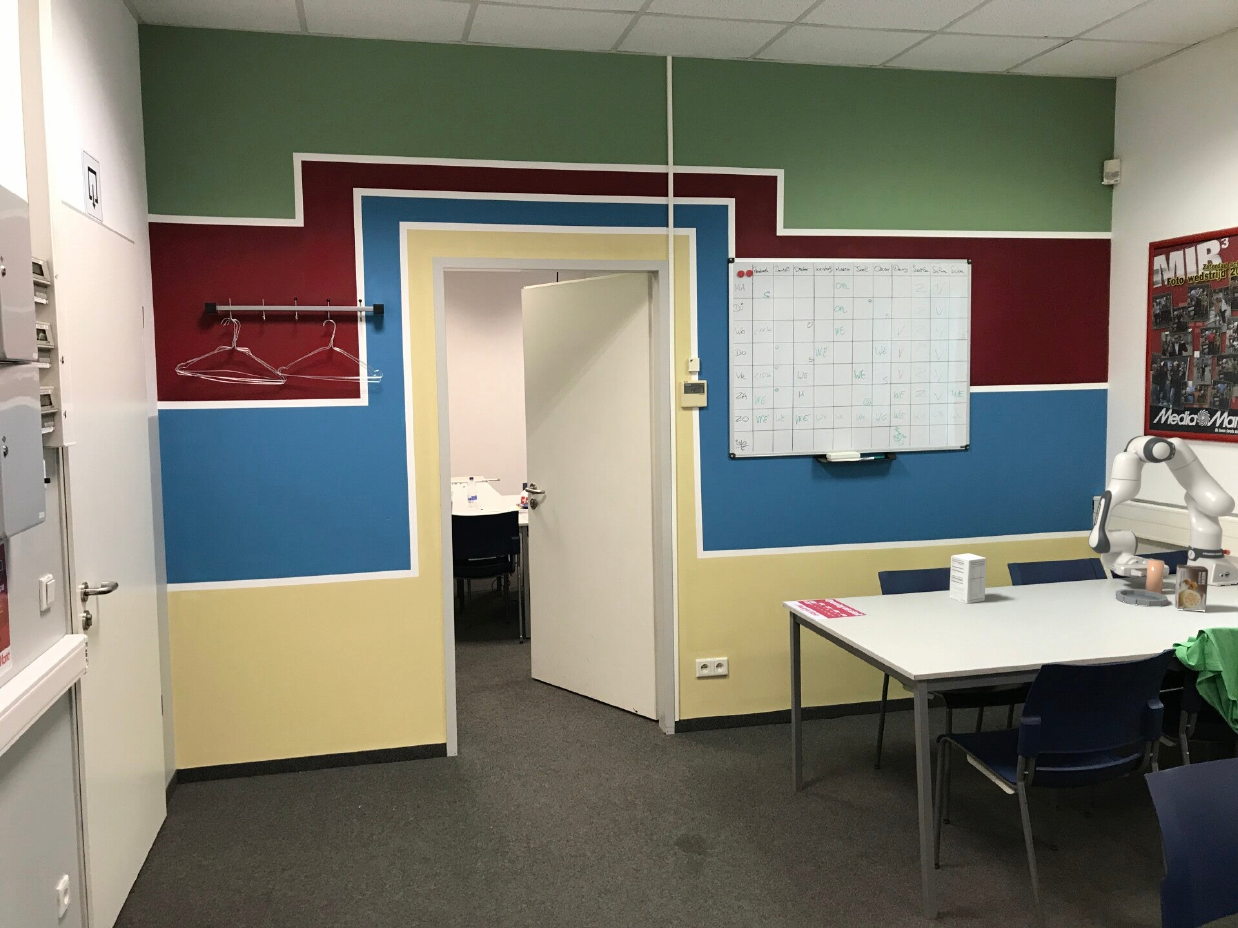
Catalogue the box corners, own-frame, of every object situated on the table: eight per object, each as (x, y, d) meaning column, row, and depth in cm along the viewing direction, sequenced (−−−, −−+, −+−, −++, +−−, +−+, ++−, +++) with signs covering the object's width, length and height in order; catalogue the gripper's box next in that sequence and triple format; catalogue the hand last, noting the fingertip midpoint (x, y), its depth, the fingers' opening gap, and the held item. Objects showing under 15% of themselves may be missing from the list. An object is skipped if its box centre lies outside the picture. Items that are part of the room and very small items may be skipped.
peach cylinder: (1155, 591, 364) (1158, 559, 363) (1165, 594, 359) (1167, 562, 357) (1142, 591, 364) (1144, 559, 362) (1151, 595, 358) (1154, 562, 357)
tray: (1147, 594, 360) (1148, 588, 359) (1177, 606, 343) (1177, 600, 343) (1106, 595, 358) (1106, 589, 358) (1134, 606, 341) (1134, 601, 341)
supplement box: (966, 595, 357) (969, 552, 355) (985, 601, 349) (987, 557, 347) (948, 597, 353) (950, 554, 351) (966, 603, 345) (969, 559, 343)
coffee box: (1202, 608, 340) (1205, 566, 338) (1205, 613, 334) (1209, 569, 332) (1173, 605, 343) (1176, 563, 341) (1176, 610, 337) (1180, 567, 335)
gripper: (1107, 559, 373) (1129, 566, 360) (1155, 558, 375) (1178, 565, 361) (1106, 574, 374) (1128, 582, 360) (1154, 573, 376) (1177, 581, 362)
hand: (1154, 574), depth 361 cm, fingers open, 8 cm apart
